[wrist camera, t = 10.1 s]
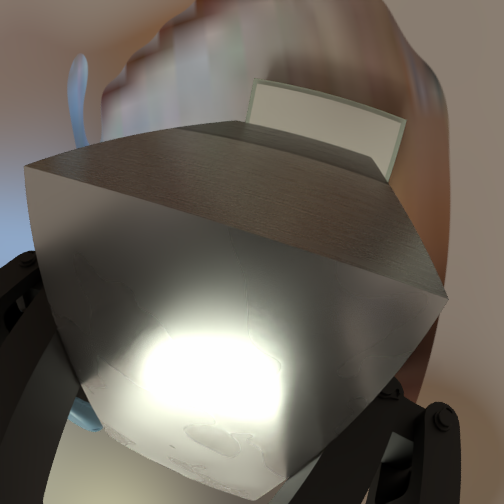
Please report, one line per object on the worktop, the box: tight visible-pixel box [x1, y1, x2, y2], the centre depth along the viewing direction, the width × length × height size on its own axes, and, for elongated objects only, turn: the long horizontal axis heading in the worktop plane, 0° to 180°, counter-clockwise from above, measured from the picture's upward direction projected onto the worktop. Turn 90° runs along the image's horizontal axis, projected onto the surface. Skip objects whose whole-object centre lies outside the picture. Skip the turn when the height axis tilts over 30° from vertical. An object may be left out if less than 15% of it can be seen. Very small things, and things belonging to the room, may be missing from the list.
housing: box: [24, 121, 449, 501], centre depth 10 cm, size 12×6×10 cm, turn 168°
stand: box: [245, 78, 407, 182], centre depth 27 cm, size 14×16×4 cm
